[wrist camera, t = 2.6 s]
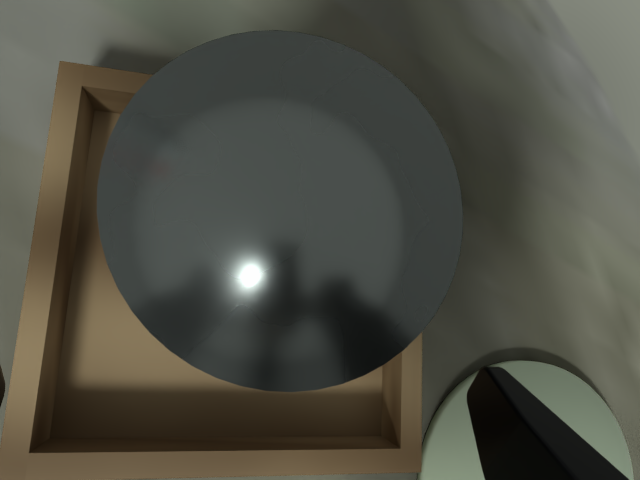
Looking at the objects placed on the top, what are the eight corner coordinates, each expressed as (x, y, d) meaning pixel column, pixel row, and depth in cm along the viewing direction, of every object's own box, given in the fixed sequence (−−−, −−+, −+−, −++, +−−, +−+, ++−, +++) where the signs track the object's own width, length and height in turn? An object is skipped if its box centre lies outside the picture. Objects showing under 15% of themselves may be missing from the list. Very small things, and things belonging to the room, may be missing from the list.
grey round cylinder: (262, 375, 18) (361, 464, 7) (133, 298, 18) (4, 256, 6) (334, 253, 20) (514, 158, 8) (217, 178, 19) (238, -36, 8)
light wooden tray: (394, 453, 20) (421, 472, 17) (25, 459, 17) (-6, 482, 14) (399, 138, 22) (423, 115, 20) (78, 93, 19) (59, 60, 17)
